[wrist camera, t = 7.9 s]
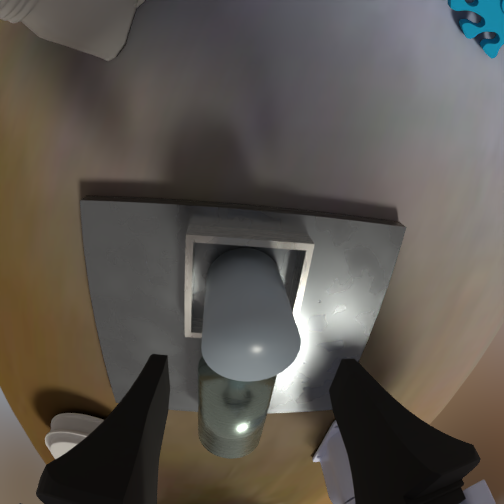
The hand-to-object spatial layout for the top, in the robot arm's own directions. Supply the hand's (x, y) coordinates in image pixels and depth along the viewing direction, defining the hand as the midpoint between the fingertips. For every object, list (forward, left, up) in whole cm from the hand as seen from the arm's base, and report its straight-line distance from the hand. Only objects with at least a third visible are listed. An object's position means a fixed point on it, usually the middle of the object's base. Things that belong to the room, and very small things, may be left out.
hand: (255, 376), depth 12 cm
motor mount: (-4, 0, -9) cm, 10 cm away
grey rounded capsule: (0, 0, -8) cm, 8 cm away
